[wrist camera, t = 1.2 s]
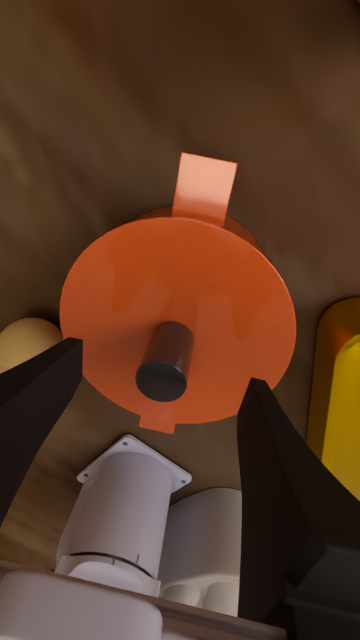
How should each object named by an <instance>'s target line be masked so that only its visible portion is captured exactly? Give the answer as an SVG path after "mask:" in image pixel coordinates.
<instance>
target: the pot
mask: <svg viewBox="0 0 360 640" xmlns="http://www.w3.org/2000/svg"><path fill="white" fill-rule="evenodd" d="M237 167H238V163H237V162H234V161H229V160H224V159H219V158H214V157H209V156H204V155H199V154H195V153H190V152H181V155H180V162H179V168H178V175H177V181H176V188H175V194H174V201H173V206H170V207H165V208H161V209H158V210H155V211H150V212H147V213H145V214H144V215H142V216H141V217H140V218H138V219H141V218H145V217H152V216H159V215H180V216H187V217H194V218H199V219H203V220H206V221H210V222H214V223H216V224H219V225H221V226H223V227H226V228H228V229H230V230H232V231H234V232H236V233H237V234H239V235H241V236H242V237H244V238H245V239H247V240H248V241H250V242H251V243H252V244H253V245H254V246H256V247H257V248H258V249H259V250H261V251H262V252H263V250H262V248H261V247H260V245H259V244H258V242H257V240H256V238H255V237H254V235H253V234H252V233H251V232H249V231H248V230H247V229H245V228H244V227H243V226H242V225H241V224H239V223H238V222H237V221H235V220H234V219H232V218H230V217H229V216H227V215H226V212H227V208H228V204H229V200H230V196H231V192H232V187H233V183H234V179H235V175H236V171H237ZM263 254H264V252H263ZM264 255H265V254H264ZM175 425H176V423H168V422H163V421H157V420H154V419H150V418H146V417H143V416H141V415H140V422H139V427H143V428H147V429H152V430H156V431H160V432H165V433H169V434H173V433H174V430H175Z"/></svg>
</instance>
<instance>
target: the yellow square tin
mask: <svg viewBox="0 0 360 640" xmlns="http://www.w3.org/2000/svg"><path fill="white" fill-rule="evenodd" d="M307 445H308V446H309V448H310V449H311V450H312V451H313V452H314V454H315V455H316V456H317V457H318V458H319V460H320V461H321V462H322V463H323V464H324V465H325V467H326V468H327V469H328V470H329V471H330V472H331V473H332V474H333V475H334V476H335V477H336V478H337V479H338V480H339V481H340V482H341V483H342V484H343V486H344V487H345V488H346V489H348V490H349V491H350V492H351V493H352V494H353V495H354V496H355V497H356V498H357V499H358V500H359V501H360V297H356V298H350V299H345V300H343V301H340V302H338V303H335V304H333V305H332V306H331V307H330V308H328V309H327V310H326V311H325V313H324V314H323V316H322V318H321V319H320V321H319V324H318V327H317V337H316V348H315V358H314V369H313V379H312V389H311V400H310V410H309V421H308V431H307Z"/></svg>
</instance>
